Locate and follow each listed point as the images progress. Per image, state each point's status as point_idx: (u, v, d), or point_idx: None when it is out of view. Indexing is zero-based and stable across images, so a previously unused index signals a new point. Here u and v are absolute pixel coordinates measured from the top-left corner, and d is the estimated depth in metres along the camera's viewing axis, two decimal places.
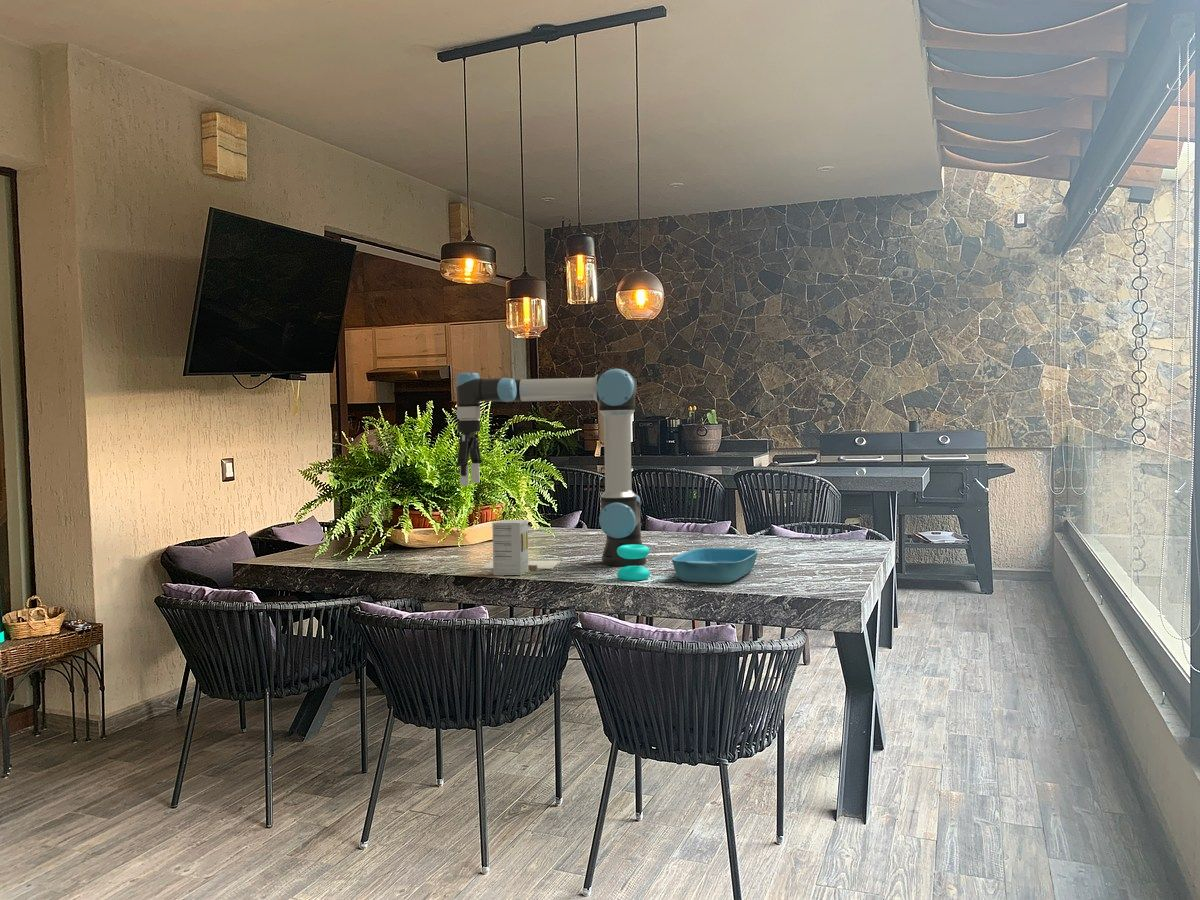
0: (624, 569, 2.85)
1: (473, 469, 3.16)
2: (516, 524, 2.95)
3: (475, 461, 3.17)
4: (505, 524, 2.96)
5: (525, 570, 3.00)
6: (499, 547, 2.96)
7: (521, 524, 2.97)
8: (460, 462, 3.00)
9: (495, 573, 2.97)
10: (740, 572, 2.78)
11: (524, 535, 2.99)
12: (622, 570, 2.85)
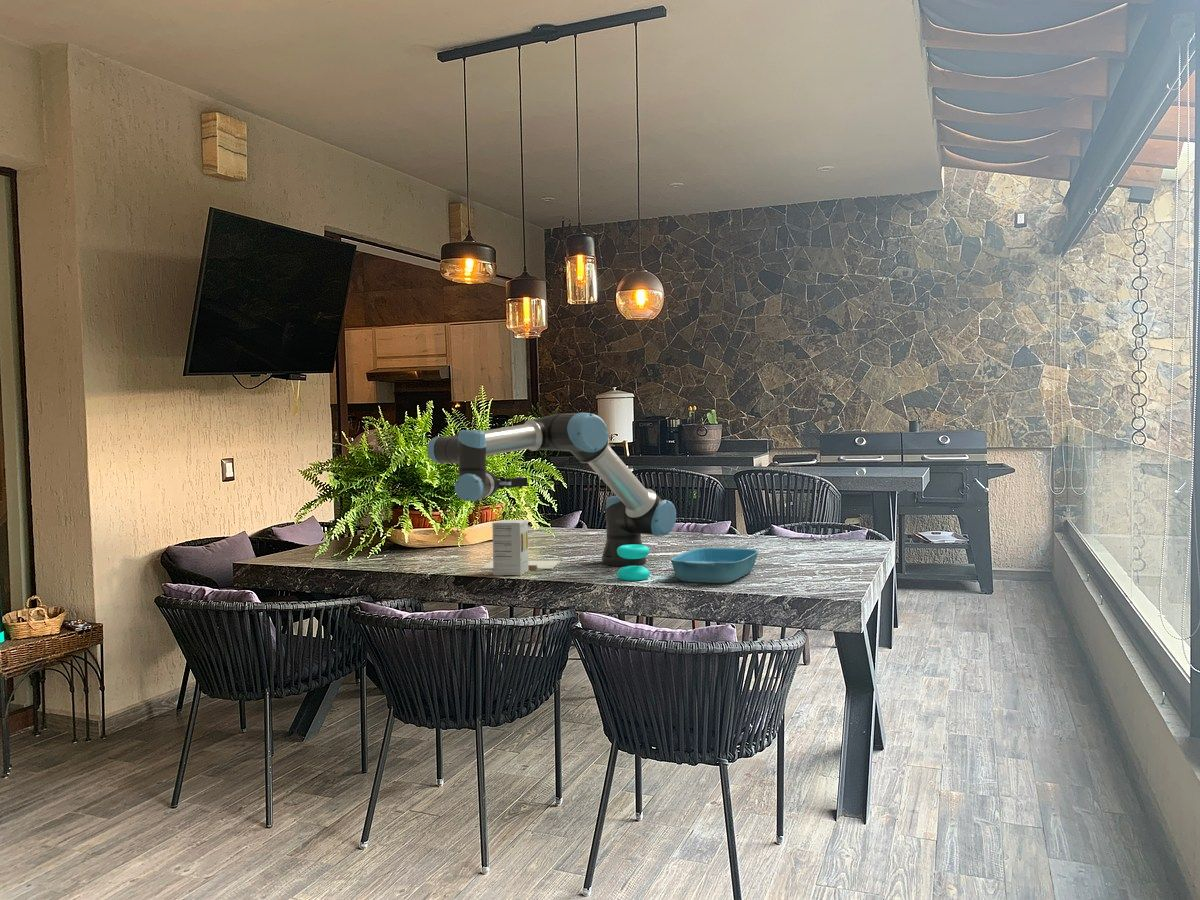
0: (624, 569, 2.85)
1: None
2: (516, 524, 2.95)
3: None
4: (505, 524, 2.96)
5: (525, 570, 3.00)
6: (499, 547, 2.96)
7: (521, 524, 2.97)
8: None
9: (495, 573, 2.97)
10: (739, 572, 2.78)
11: (524, 535, 2.99)
12: (622, 570, 2.85)
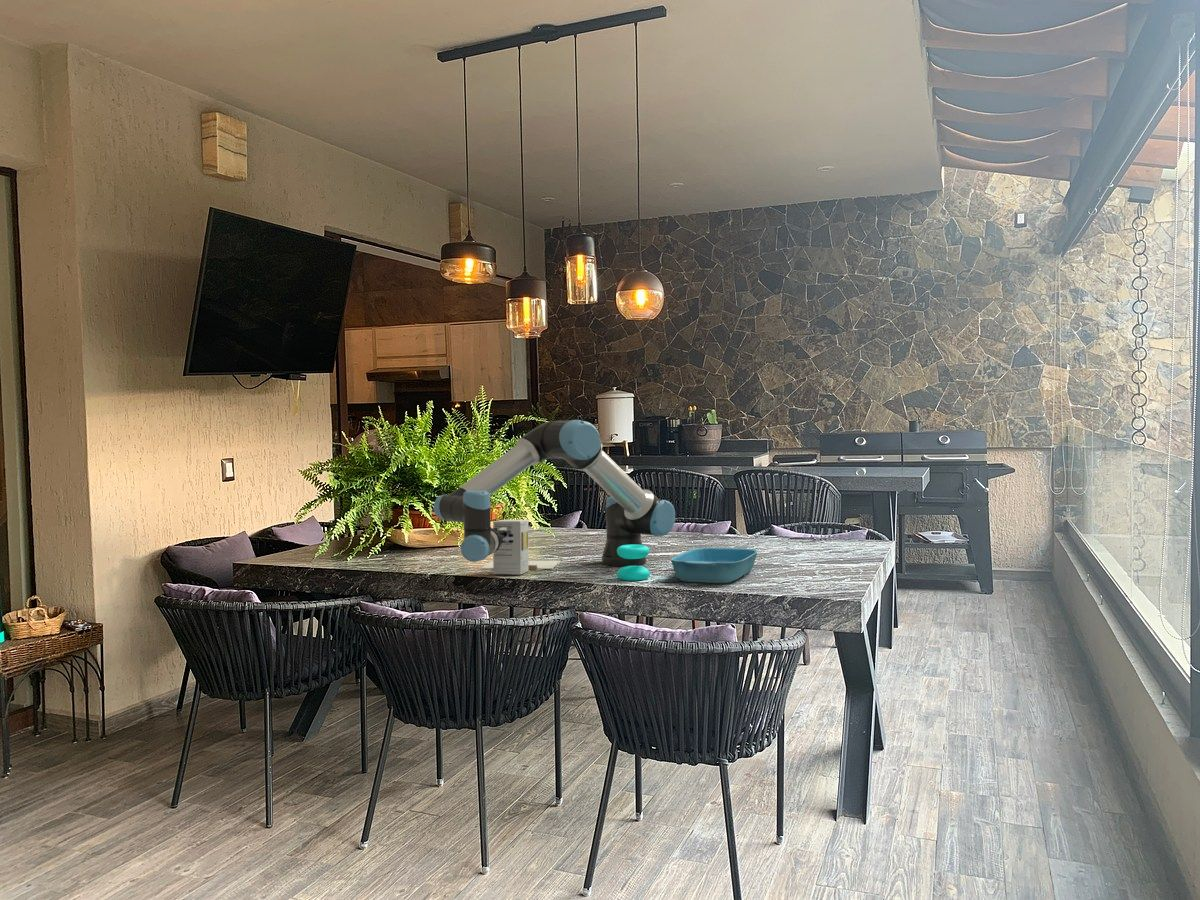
0: (624, 569, 2.85)
1: None
2: (517, 523, 2.96)
3: None
4: (506, 523, 2.96)
5: (525, 569, 3.00)
6: None
7: (522, 523, 2.97)
8: None
9: (495, 572, 2.97)
10: (739, 572, 2.78)
11: (524, 534, 2.99)
12: (622, 570, 2.85)
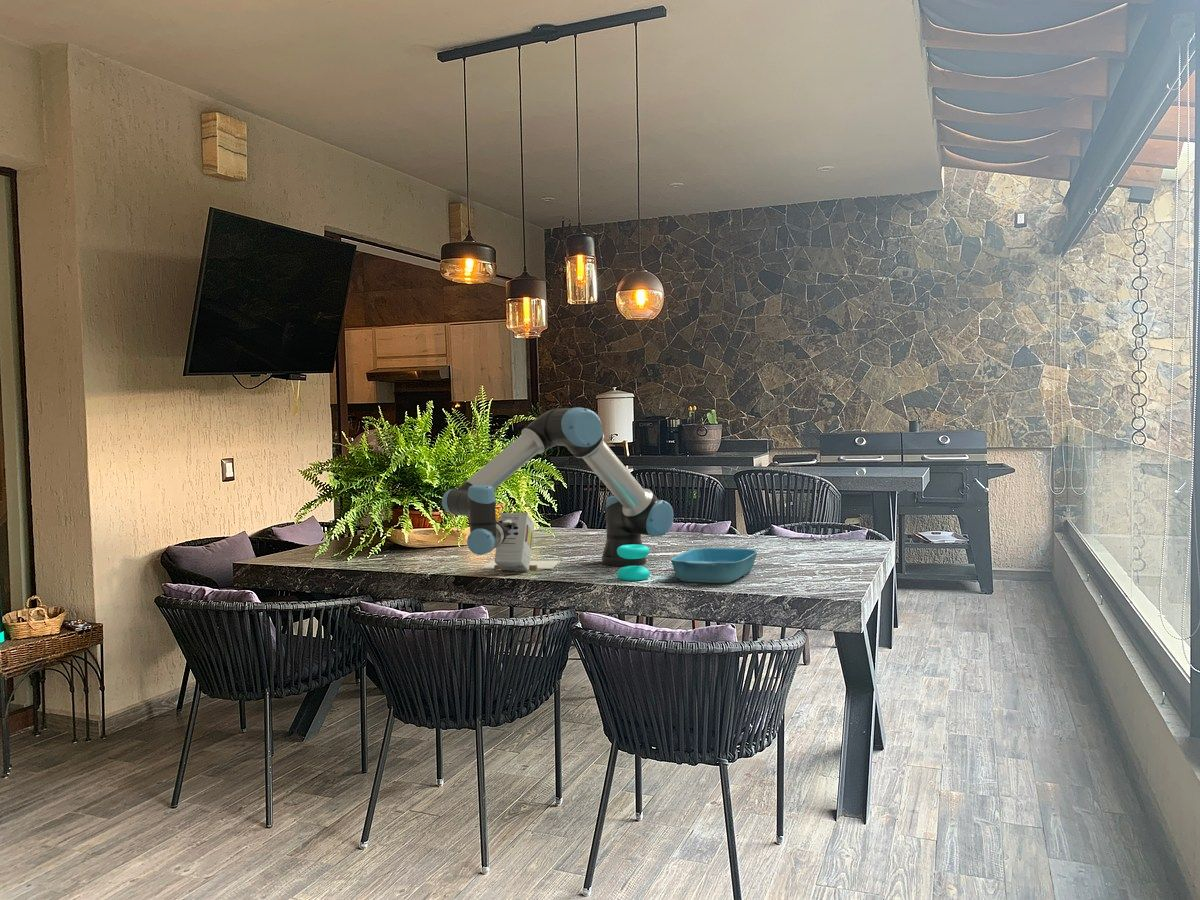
0: (624, 569, 2.85)
1: None
2: (524, 514, 3.03)
3: None
4: (513, 514, 3.04)
5: (526, 564, 3.01)
6: None
7: (528, 517, 3.05)
8: None
9: (496, 559, 2.98)
10: (739, 572, 2.78)
11: (529, 530, 3.05)
12: (622, 570, 2.85)
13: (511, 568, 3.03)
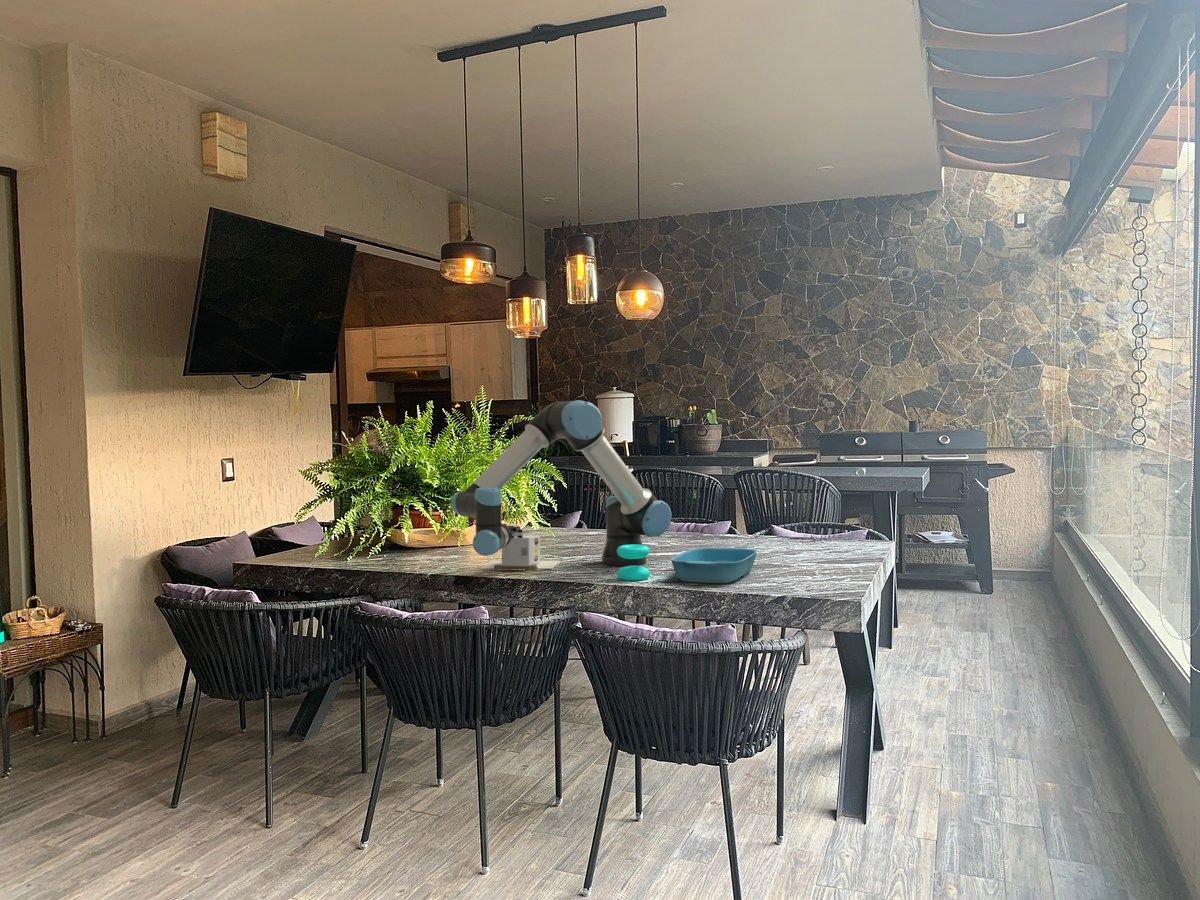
0: (624, 569, 2.85)
1: None
2: None
3: None
4: None
5: (529, 554, 3.04)
6: None
7: None
8: None
9: None
10: (739, 572, 2.78)
11: (537, 549, 3.15)
12: (622, 570, 2.85)
13: (513, 557, 3.04)
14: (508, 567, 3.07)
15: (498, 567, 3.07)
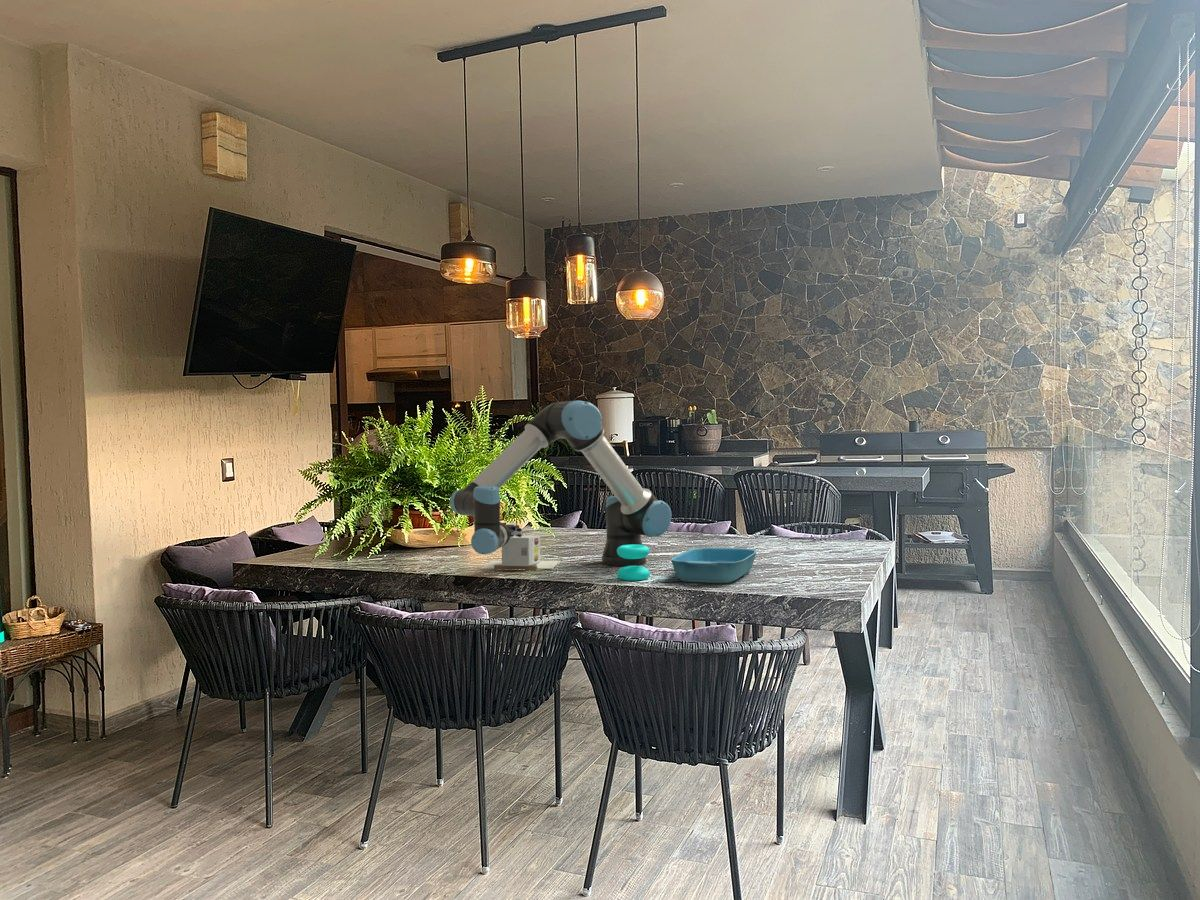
0: (624, 569, 2.85)
1: None
2: None
3: None
4: None
5: (529, 554, 3.04)
6: None
7: None
8: None
9: None
10: (739, 572, 2.78)
11: (537, 548, 3.15)
12: (622, 570, 2.85)
13: (513, 557, 3.04)
14: (508, 567, 3.07)
15: (498, 567, 3.07)
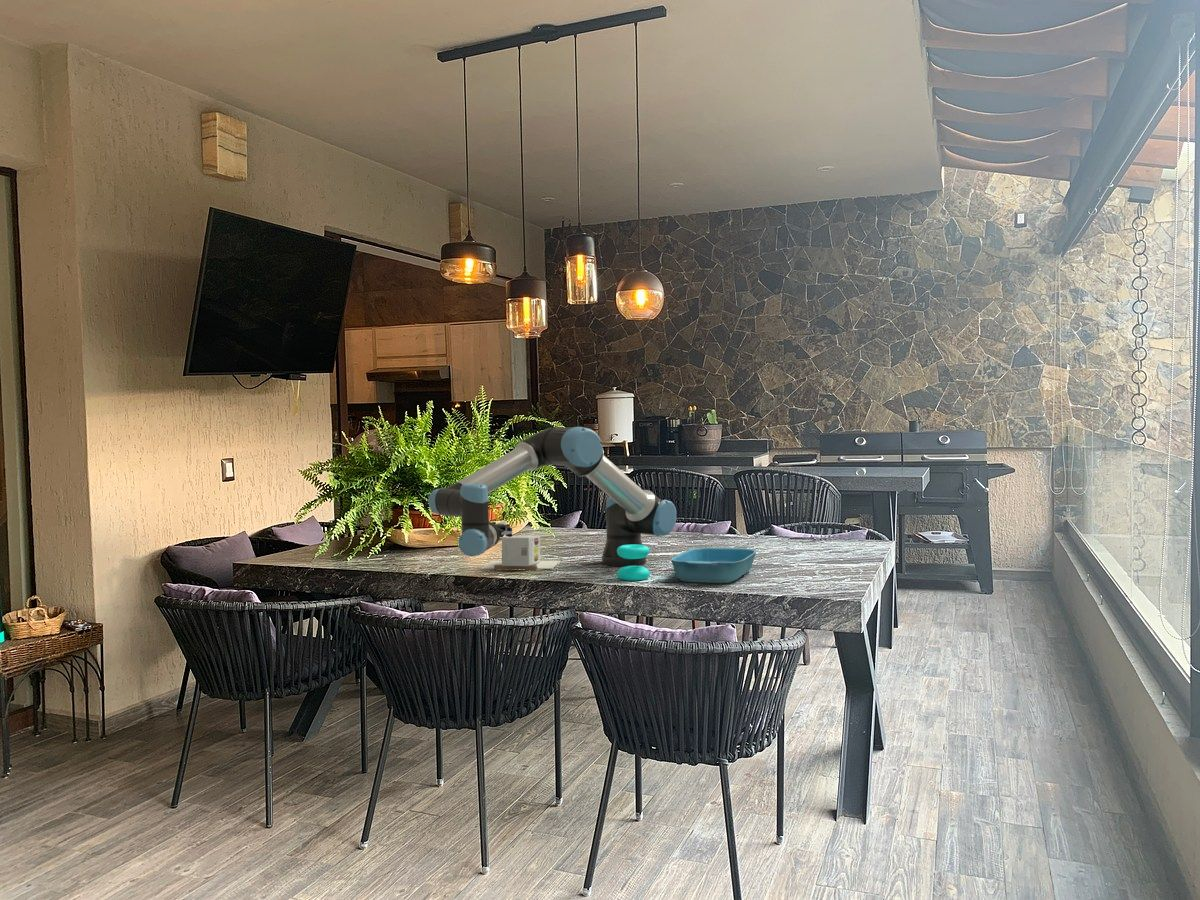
0: (624, 569, 2.85)
1: None
2: None
3: None
4: None
5: (529, 554, 3.04)
6: None
7: None
8: None
9: (504, 537, 3.05)
10: (740, 572, 2.78)
11: (537, 548, 3.15)
12: (622, 570, 2.85)
13: (513, 557, 3.04)
14: (508, 567, 3.07)
15: (498, 567, 3.07)
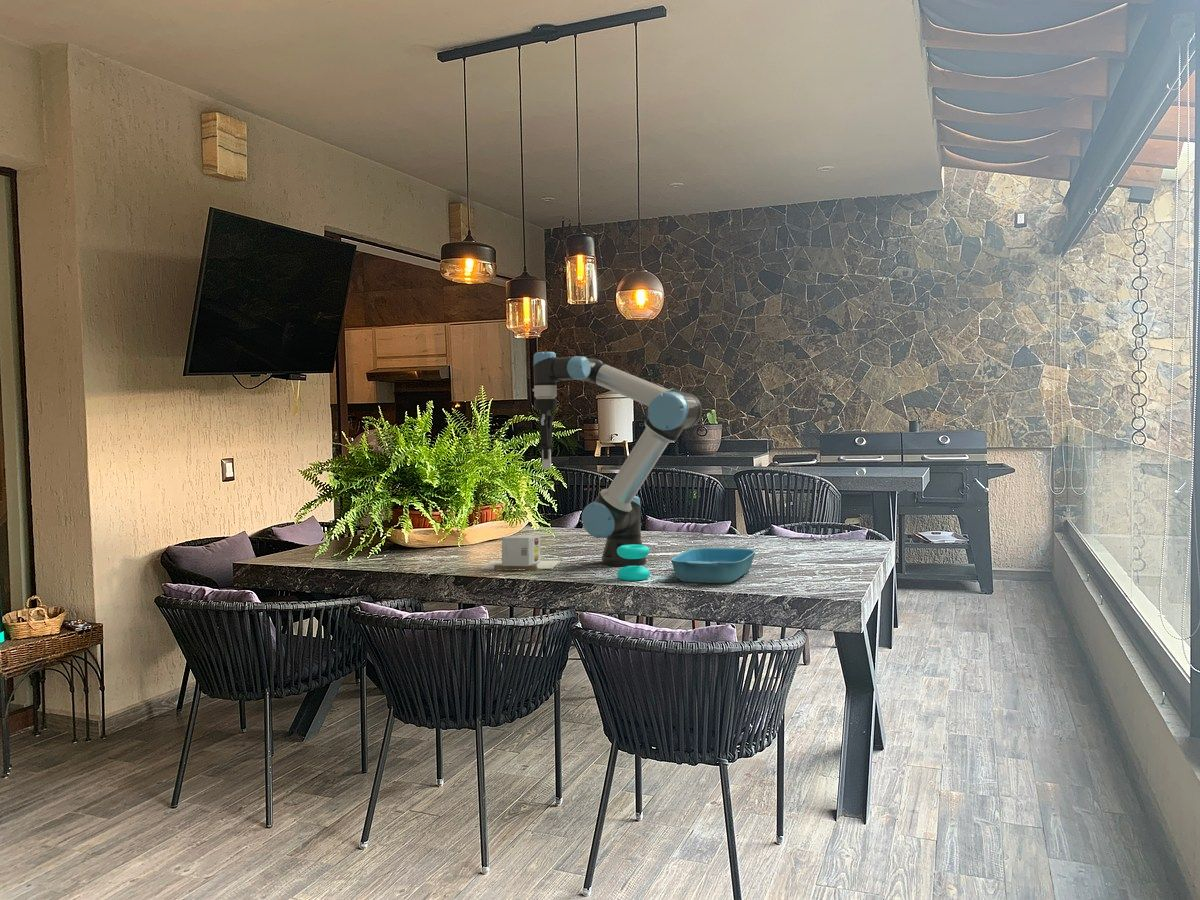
0: (624, 569, 2.85)
1: None
2: None
3: None
4: None
5: (529, 554, 3.04)
6: None
7: None
8: (543, 446, 3.11)
9: (504, 537, 3.05)
10: (740, 572, 2.78)
11: (537, 548, 3.15)
12: (622, 570, 2.85)
13: (513, 557, 3.04)
14: (508, 567, 3.07)
15: (498, 567, 3.07)
